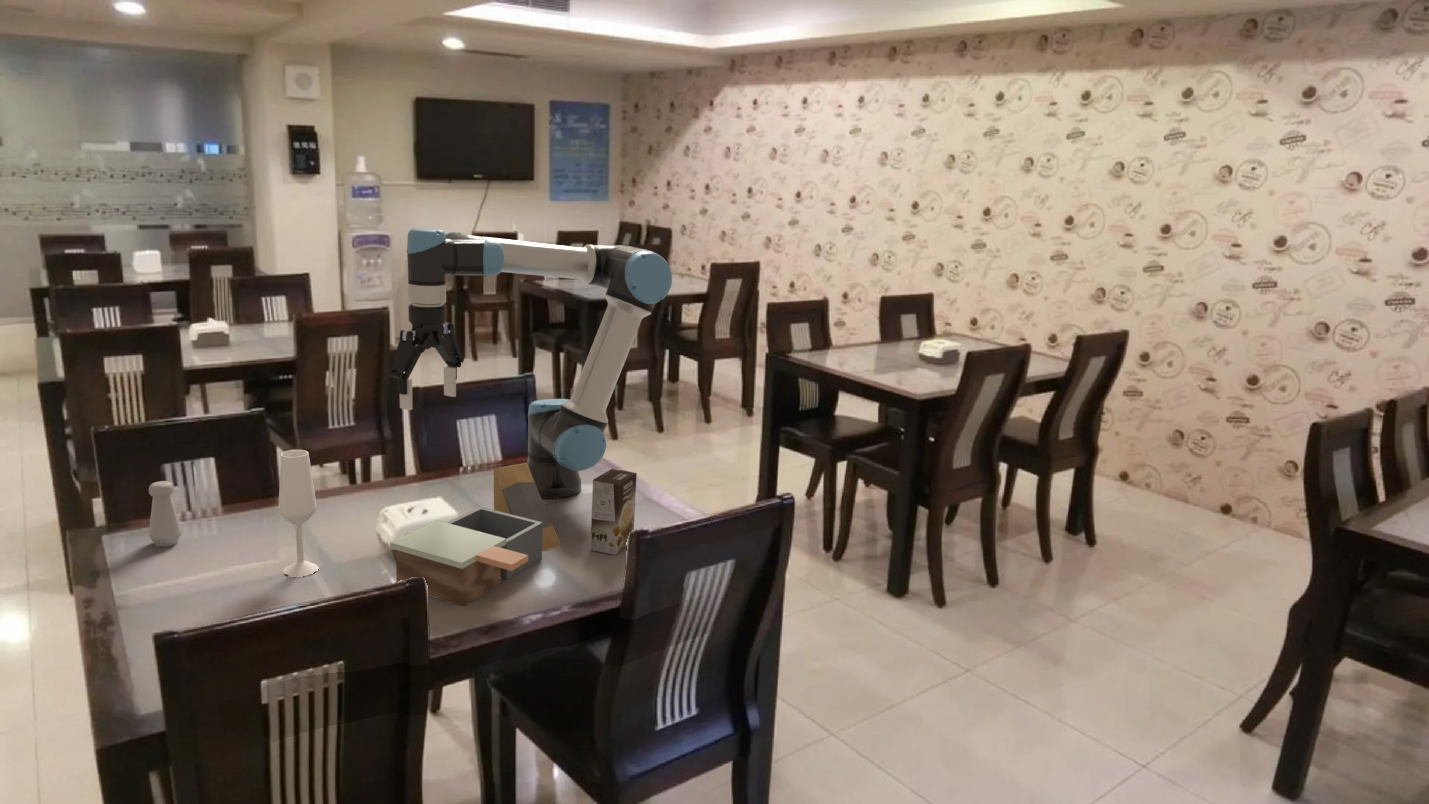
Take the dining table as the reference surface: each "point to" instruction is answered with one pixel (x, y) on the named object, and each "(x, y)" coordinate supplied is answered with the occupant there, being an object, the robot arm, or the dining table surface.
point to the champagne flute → (297, 503)
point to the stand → (449, 577)
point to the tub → (507, 533)
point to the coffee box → (612, 510)
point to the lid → (458, 546)
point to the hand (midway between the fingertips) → (428, 402)
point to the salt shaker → (163, 515)
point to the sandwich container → (522, 499)
